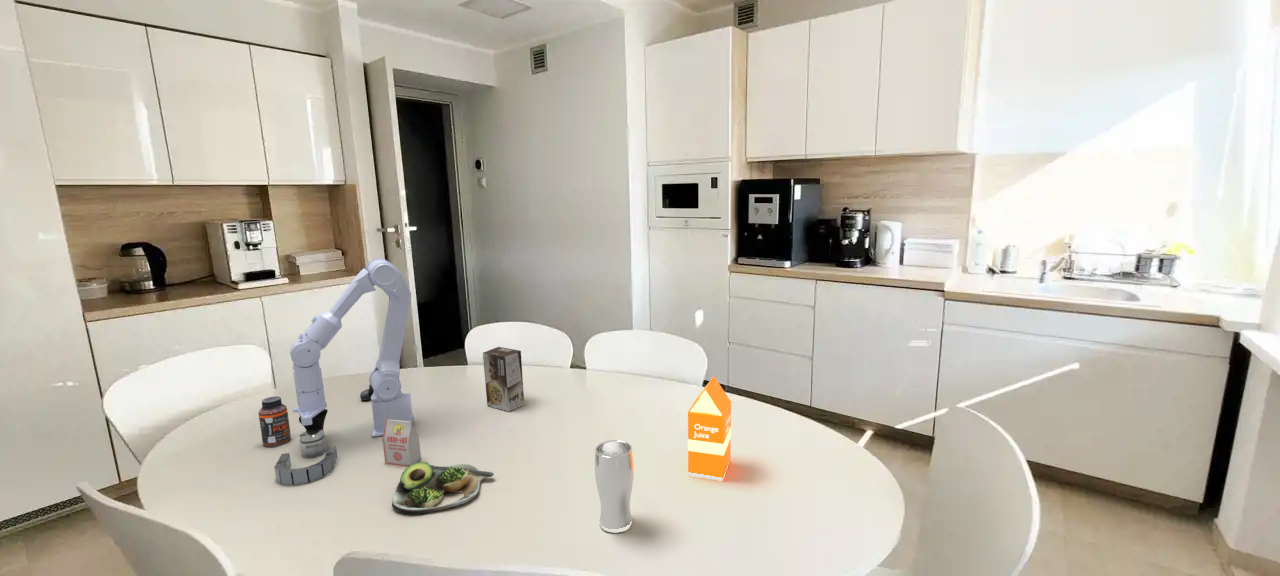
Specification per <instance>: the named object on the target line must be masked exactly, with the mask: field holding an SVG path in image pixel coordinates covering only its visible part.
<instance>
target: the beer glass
mask: <svg viewBox="0 0 1280 576" xmlns="http://www.w3.org/2000/svg"><path fill="white" fill-rule="evenodd" d="M594 451H595V455H594V476H595V478H594V479H595V482H596V484H595V485H596V488H597V493H598V497H599V501H600V516H599V522H600V523H601V525H602V526H604V527H605V528H608V529H619V528H623V527H626V526H627V525H629V524H630V522H631V521H632V522H633V516H632V513H631V512H632V511H631V505H630V504H631V495H632V490H633V484H634V482H633V481H634V459H633V458H634V457H633V446H632V445H631V444H630V443H629V442H627V441H624V440H621V439H620V440H618V439H613V440H612V439H610V440H606V441H602V442H600V443H599V444H597V445H596V447H595V449H594Z"/></svg>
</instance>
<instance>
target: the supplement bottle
mask: <svg viewBox="0 0 1280 576" xmlns="http://www.w3.org/2000/svg"><path fill="white" fill-rule="evenodd" d="M258 420H259V426H260V432H261V441H262V445H264V446H265V447H276V446H281V445H283V444H286V443H287V442H289V441H290V440H291V436H292V435H291V428H290V420H289V413H288V408H287V405H286V404H283V403H282V397H281V396H279V395H277V396H276V395H275V396H269V397H265V398H263V399H262V400H261V408H260V409H259V410H258Z"/></svg>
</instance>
